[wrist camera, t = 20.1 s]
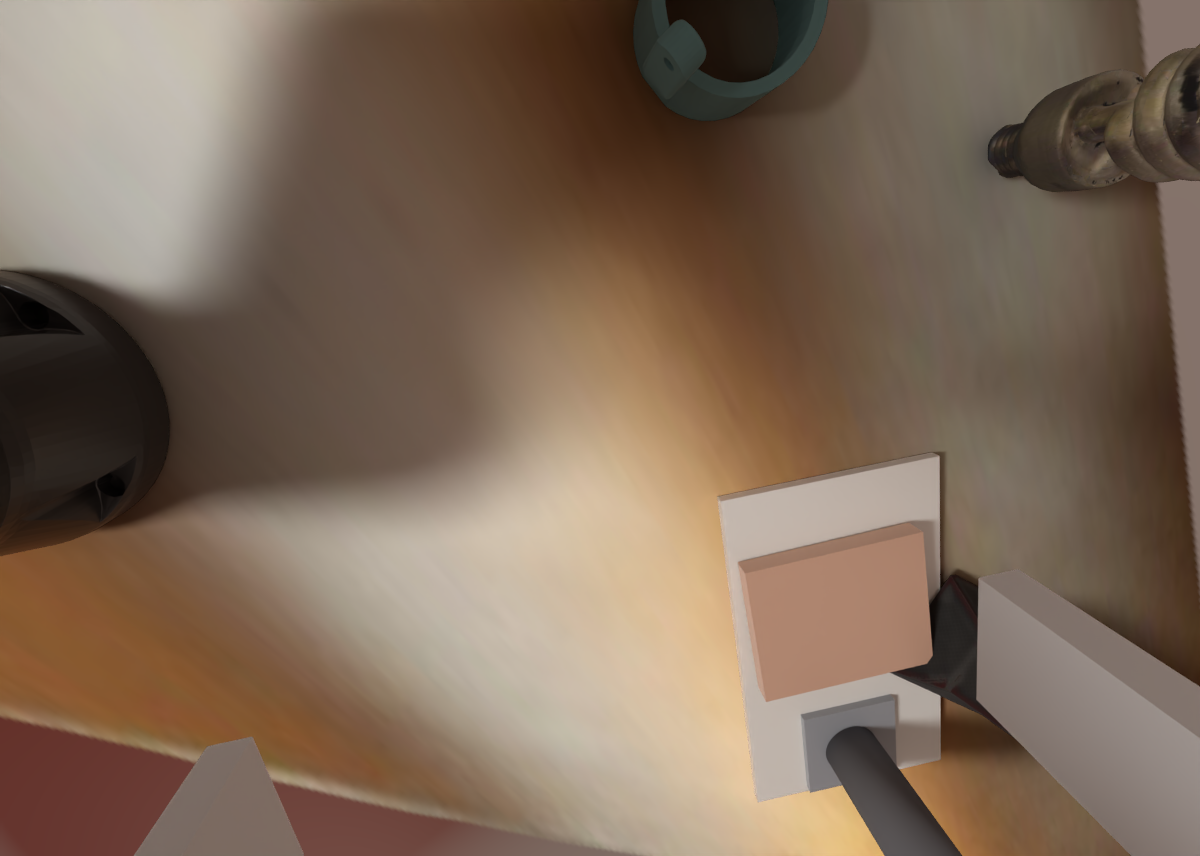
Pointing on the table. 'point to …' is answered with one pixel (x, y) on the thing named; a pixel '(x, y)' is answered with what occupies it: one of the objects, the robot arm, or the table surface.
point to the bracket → (680, 52)
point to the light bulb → (1109, 130)
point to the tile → (838, 611)
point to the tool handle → (885, 797)
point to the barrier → (952, 647)
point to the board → (880, 703)
